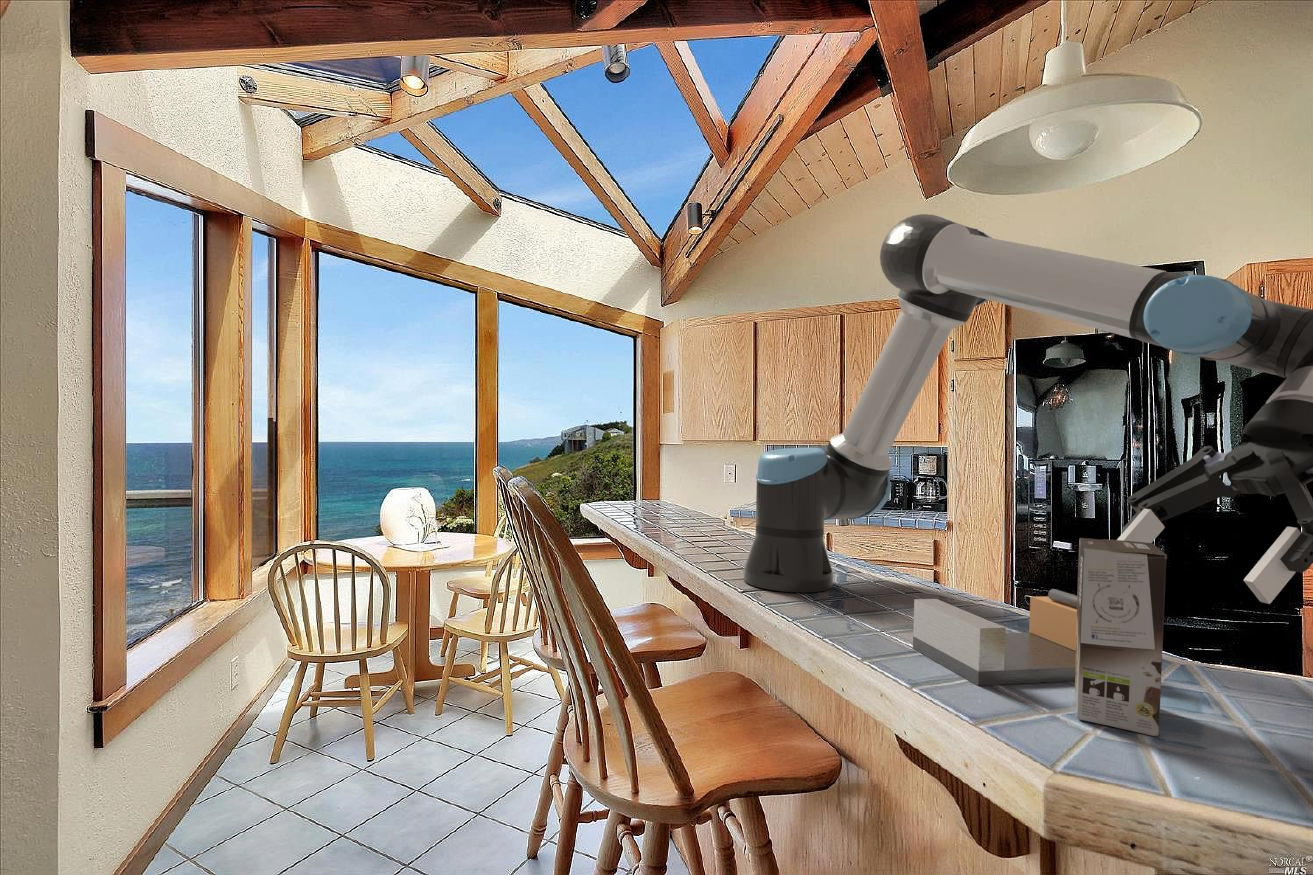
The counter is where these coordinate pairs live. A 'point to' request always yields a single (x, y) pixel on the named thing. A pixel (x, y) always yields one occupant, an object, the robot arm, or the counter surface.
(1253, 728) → the counter surface
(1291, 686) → the counter surface
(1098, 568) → the coffee box
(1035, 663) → the vise bed
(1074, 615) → the block
